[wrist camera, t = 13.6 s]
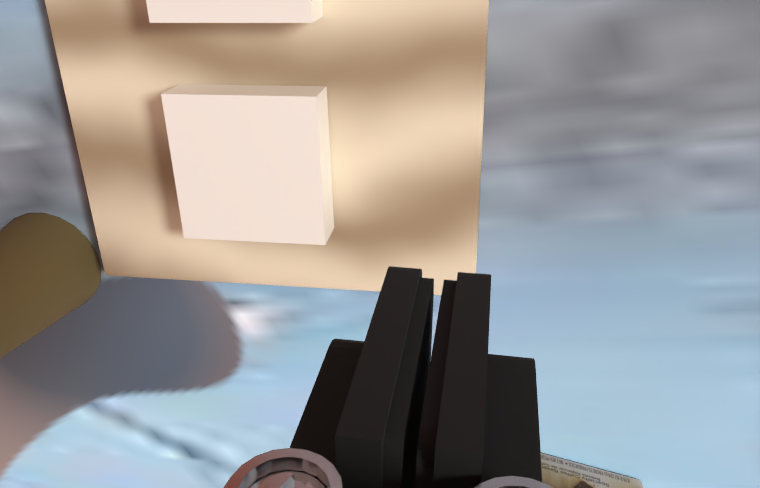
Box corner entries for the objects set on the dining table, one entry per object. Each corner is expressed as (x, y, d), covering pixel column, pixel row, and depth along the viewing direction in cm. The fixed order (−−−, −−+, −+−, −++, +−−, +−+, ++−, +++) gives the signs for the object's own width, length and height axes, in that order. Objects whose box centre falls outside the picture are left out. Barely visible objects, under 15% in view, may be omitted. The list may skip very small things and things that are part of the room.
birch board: (5, -257, 28) (-14, -264, 27) (502, -289, 25) (503, -298, 24) (116, 265, 38) (105, 275, 37) (475, 285, 35) (474, 296, 34)
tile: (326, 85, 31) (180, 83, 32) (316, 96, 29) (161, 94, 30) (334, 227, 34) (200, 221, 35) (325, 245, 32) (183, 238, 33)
